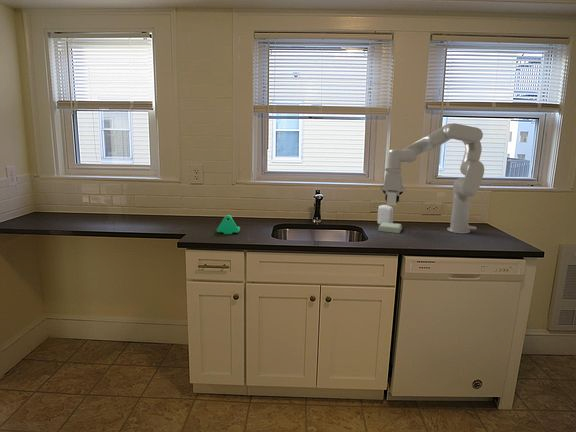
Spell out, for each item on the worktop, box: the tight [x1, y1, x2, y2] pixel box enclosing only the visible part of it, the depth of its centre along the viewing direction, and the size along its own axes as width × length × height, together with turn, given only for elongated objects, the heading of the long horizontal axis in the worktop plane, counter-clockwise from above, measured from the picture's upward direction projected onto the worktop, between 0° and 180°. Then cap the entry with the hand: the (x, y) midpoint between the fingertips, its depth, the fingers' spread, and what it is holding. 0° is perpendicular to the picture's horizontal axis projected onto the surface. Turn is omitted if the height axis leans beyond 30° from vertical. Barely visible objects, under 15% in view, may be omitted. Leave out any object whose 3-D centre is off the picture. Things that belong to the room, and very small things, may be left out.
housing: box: [386, 191, 398, 206], centre depth 238 cm, size 8×5×8 cm, turn 159°
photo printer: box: [377, 204, 394, 225], centre depth 255 cm, size 10×4×12 cm, turn 39°
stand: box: [378, 222, 403, 234], centre depth 241 cm, size 12×12×3 cm
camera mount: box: [216, 214, 241, 235], centre depth 228 cm, size 12×8×10 cm, turn 90°
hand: (392, 201), depth 238 cm, fingers closed on housing, 5 cm apart
